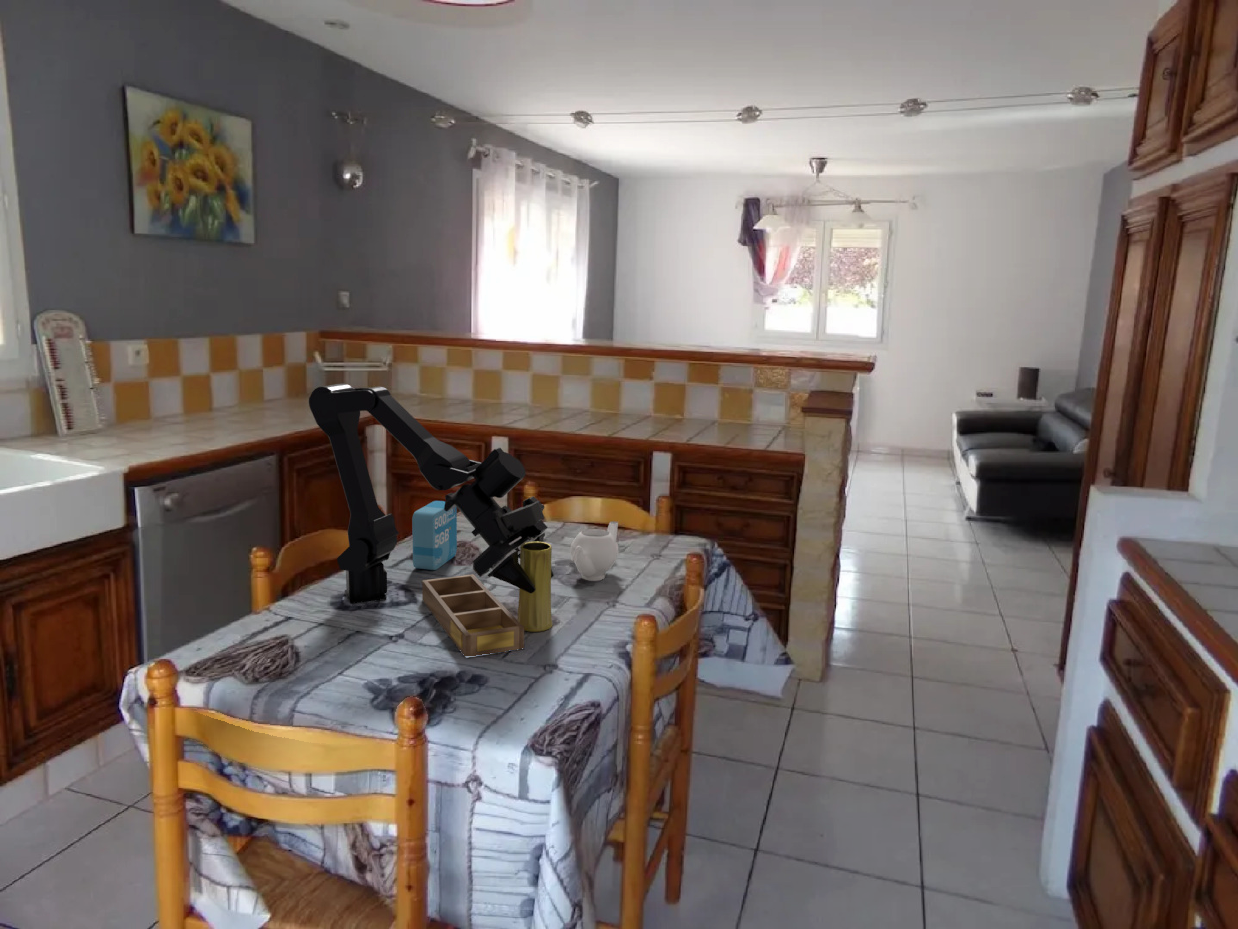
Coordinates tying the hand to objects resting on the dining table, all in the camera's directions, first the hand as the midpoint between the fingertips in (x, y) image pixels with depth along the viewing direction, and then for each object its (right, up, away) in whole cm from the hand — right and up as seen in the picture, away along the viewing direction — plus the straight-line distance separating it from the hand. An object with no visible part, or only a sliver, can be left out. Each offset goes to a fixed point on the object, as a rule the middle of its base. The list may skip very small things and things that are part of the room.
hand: (543, 584), depth 147 cm
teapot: (+8, -2, +27) cm, 29 cm away
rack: (-13, -7, +2) cm, 15 cm away
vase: (-2, -7, +2) cm, 8 cm away
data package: (-25, 0, +33) cm, 41 cm away
